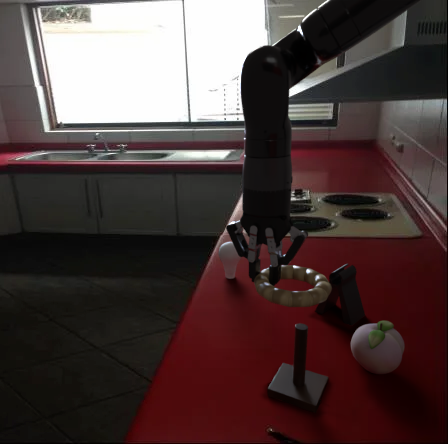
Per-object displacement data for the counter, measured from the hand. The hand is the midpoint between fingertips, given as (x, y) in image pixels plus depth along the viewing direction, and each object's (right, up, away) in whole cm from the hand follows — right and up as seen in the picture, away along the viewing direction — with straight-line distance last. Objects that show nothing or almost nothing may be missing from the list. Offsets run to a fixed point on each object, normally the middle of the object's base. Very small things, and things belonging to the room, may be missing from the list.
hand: (264, 282), depth 71 cm
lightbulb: (+1, -6, +42) cm, 42 cm away
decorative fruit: (+21, -17, +4) cm, 27 cm away
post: (+6, -19, +1) cm, 20 cm away
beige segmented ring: (+4, 0, -3) cm, 5 cm away
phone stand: (+22, -11, +21) cm, 33 cm away
